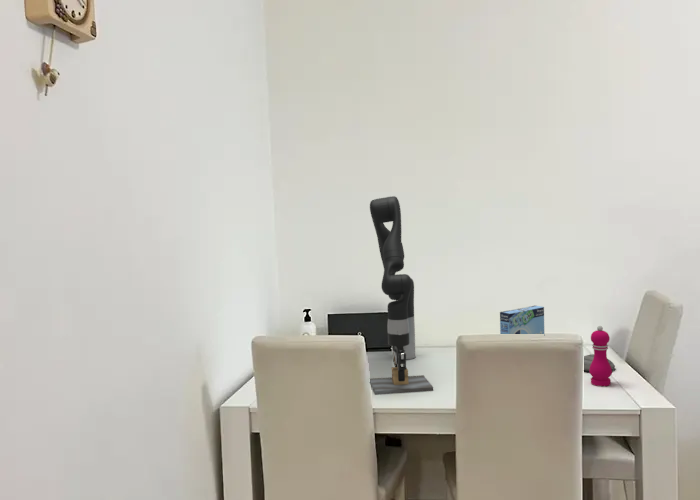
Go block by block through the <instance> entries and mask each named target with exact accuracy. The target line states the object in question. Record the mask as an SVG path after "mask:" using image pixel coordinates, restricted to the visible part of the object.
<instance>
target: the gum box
mask: <svg viewBox="0 0 700 500" xmlns="http://www.w3.org/2000/svg"><path fill="white" fill-rule="evenodd" d="M499 322H500V323H499V327H500V328H499V329H500V330H499V331H500V334H544V335H545V307H544V306H543V305H532V306H531V305H530V306H526V307H521V308H516V309H511V310H504V311H500V312H499ZM500 334H499V335H500Z"/></svg>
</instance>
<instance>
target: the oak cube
mask: <svg viewBox="0 0 700 500" xmlns="http://www.w3.org/2000/svg"><path fill="white" fill-rule="evenodd" d="M397 368H398V367H395V366H393V367H391V377H392V382H393V384H394V385H404V384H408V376H409V369H408V368H407V367H406V370H405V381H399V380H398V369H397Z"/></svg>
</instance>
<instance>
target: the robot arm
mask: <svg viewBox="0 0 700 500" xmlns="http://www.w3.org/2000/svg"><path fill="white" fill-rule="evenodd" d="M369 212H370V216H371V220H372V223H373V227H374V230H375V233H376V237H377V244H378V249H379V254H380V259H381V262H382V266H383V275H382V280H381V290H382V292H383V293H384V294H385V295H386V296H388V298H389V299H390V300H392V301H390V302H388V304H387V326H386V328H387V344H388V346H390V347H392V361H393V365H394V367H398V368H397V369H398V380H399V381H405V370H406V368H407V360H413V359H415V358H416V334H415V333H416V332H415V331H416V330H415V329H416V328H415V283H414V280H413V278H411V276H410V275H409V274H405V273H403V274H396V273H398V272H400V271H402V270H403V269H404V266H405V261H404V260H405V252H404V251H405V250H404V246H403V242H402V213H401V212H402V210H401V204H400V201H399V199H398V197H397V196H396V195H393V196H386V197H381V198H380V197H379V198H375V199H372V200H371V201H370V203H369ZM389 222H390V223H391V222H392V226H391V229H390V230H389V228H387V227H386V226H385V224H384V223H389Z"/></svg>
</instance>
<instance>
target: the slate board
mask: <svg viewBox="0 0 700 500" xmlns="http://www.w3.org/2000/svg"><path fill="white" fill-rule="evenodd" d="M369 379H370V382H369V384H370V386H371V388H372V391H373V394H374V395H386V394H387V395H388V394H390V395H391V394H402V393H403V394H404V393H418V392H419V393H420V392H431V391H432V392H433V391H434V387H433V385H432V384H431V383H430V381H429V380H428V379H427V378H426V376H425V375H424V374H423V375H420V374H419V375H408V384H404V385H394V384H393V382H392V376H391V377H375V378H374V377H373V378H369Z"/></svg>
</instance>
